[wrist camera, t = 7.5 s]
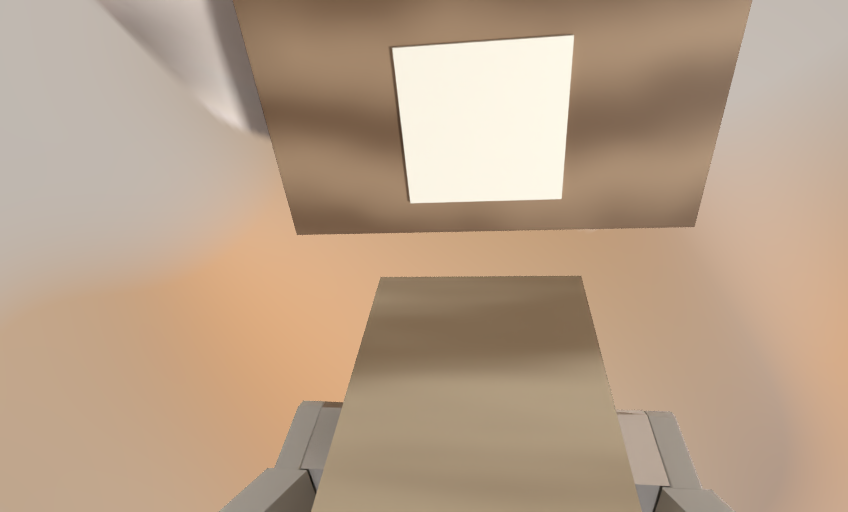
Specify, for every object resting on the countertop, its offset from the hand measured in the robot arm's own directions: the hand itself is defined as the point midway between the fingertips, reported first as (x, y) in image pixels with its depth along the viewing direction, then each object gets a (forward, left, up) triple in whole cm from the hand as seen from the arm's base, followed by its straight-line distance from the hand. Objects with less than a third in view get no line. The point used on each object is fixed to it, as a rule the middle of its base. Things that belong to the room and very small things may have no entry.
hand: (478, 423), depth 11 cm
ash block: (0, 0, -2) cm, 2 cm away
